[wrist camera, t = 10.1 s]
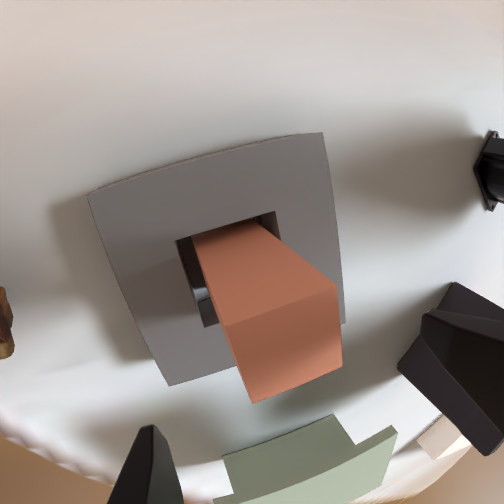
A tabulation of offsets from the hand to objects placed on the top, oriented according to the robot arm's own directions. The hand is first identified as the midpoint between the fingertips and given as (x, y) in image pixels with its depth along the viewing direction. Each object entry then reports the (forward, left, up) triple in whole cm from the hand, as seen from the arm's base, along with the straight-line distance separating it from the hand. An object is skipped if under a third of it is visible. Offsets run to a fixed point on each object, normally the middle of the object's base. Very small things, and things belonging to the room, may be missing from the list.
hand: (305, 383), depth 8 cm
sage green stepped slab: (-13, +9, -12) cm, 20 cm away
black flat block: (-23, -7, -12) cm, 27 cm away
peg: (0, 0, -12) cm, 12 cm away
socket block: (0, 0, -12) cm, 12 cm away
